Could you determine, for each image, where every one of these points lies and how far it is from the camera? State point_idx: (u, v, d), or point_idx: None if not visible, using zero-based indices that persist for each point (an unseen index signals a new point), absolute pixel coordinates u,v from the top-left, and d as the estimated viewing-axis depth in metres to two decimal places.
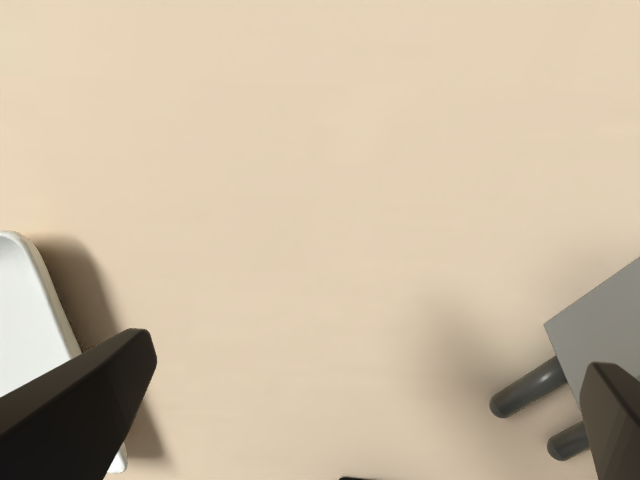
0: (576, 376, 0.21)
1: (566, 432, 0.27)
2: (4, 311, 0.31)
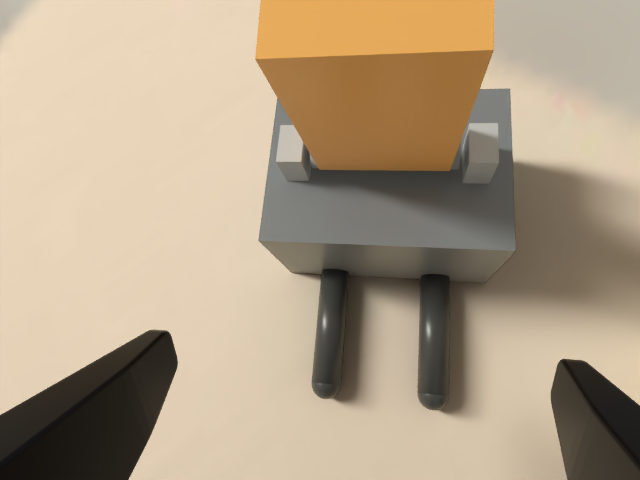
0: None
1: (418, 367, 0.21)
2: None
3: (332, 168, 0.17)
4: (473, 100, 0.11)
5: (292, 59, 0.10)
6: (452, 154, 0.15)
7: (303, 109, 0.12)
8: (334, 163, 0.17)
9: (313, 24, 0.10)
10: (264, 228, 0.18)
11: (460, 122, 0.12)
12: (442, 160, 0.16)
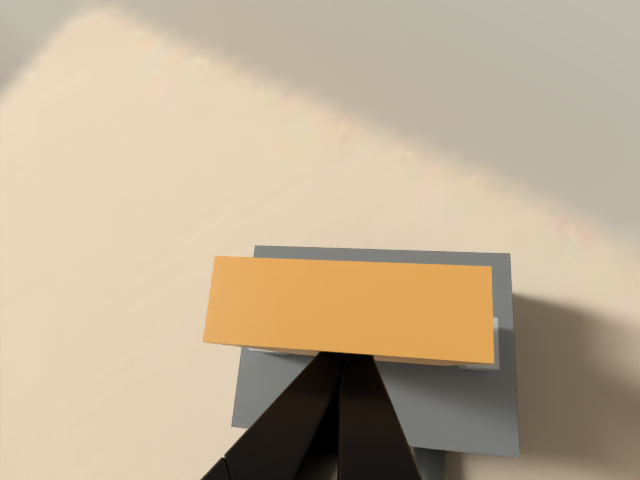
0: None
1: None
2: None
3: (312, 355, 0.15)
4: (469, 364, 0.09)
5: (246, 345, 0.08)
6: (447, 365, 0.13)
7: (269, 349, 0.10)
8: (313, 355, 0.15)
9: (273, 303, 0.08)
10: (238, 412, 0.16)
11: (454, 364, 0.11)
12: (435, 364, 0.14)
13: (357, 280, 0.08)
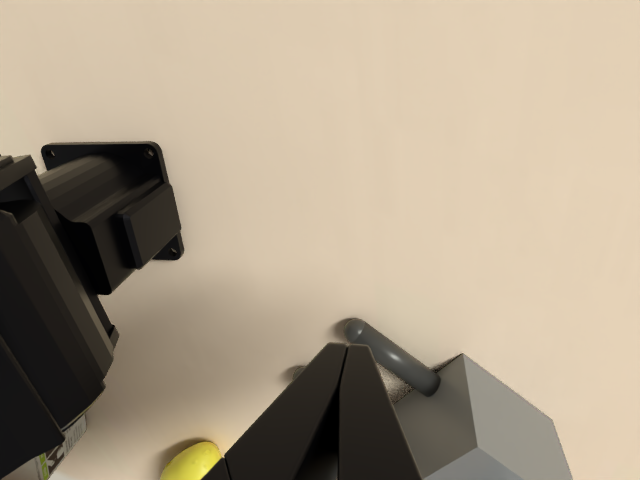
0: (480, 421, 0.21)
1: None
2: None
3: None
4: None
5: None
6: None
7: None
8: None
9: None
10: (483, 455, 0.20)
11: None
12: None
13: None
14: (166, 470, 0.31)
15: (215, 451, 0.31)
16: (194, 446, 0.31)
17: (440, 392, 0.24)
